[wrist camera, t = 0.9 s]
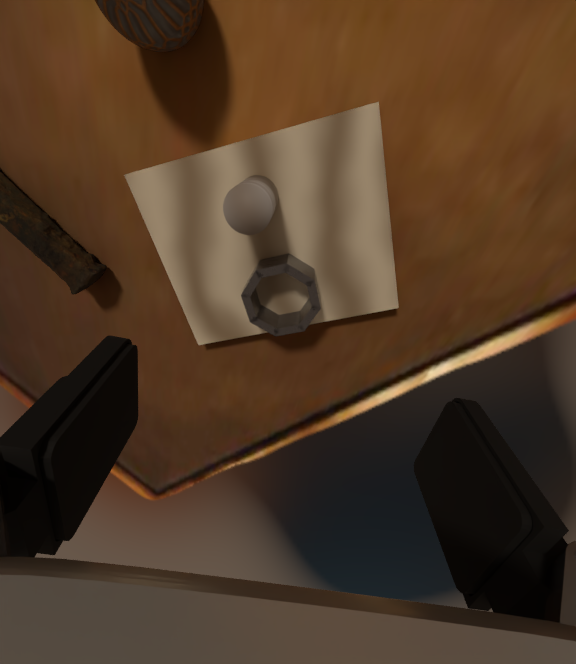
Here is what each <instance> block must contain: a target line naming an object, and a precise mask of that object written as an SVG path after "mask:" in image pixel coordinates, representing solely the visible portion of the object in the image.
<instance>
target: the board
mask: <svg viewBox="0 0 576 664" xmlns="http://www.w3.org/2000/svg"><path fill="white" fill-rule="evenodd" d="M125 178H126V180H127V182H128V185H129V187H130V189H131V191H132V194H133V196H134V198H135V201H136V203H137V205H138V207H139V210H140V212H141V214H142V217H143V219H144V221H145V224H146V226H147V228H148V230H149V233H150V235H151V237H152V240H153V242H154V244H155V246H156V249H157V251H158V253H159V256H160V258H161V260H162V262H163V265H164V267H165V269H166V272H167V274H168V276H169V278H170V281H171V283H172V285H173V288H174V290H175V292H176V295H177V297H178V299H179V301H180V304H181V306H182V308H183V311H184V313H185V315H186V317H187V320H188V322H189V324H190V327H191V329H192V331H193V333H194V336H195V338H196V340H197V343H198V345H202V344H207V343H213V342H218V341H224V340H229V339H234V338H240V337H245V336H251V335H256V334H261V333H267V331H265V330H263V329H261V328H259V327H258V326H256V325H254V324H252V323H250V321H249V318H248V315H247V312H246V309H245V306H244V303H243V300H242V298H241V294H242V292H243V289H244V287H245V285H246V283H247V281H248V279H249V278H250V276H251V274H252V272H253V271H254V269H255V267H256V266H257V264H258V262H259V260H261V259H265V258H270V257H274V256H279V255H283V254H288V253H289V254H291V255H293V256H294V257H296V258H298V259H299V260H301V261H302V262H304V263H306V264H307V265H309V266H311V267H312V268H314V269H315V274H316V279H317V283H318V288H319V292H320V301H321V309H320V311H319V312H318V313H317V315H316V316H315V317H314V319H313V320H312V321H311V323H310V324H315V323H321V322H326V321H332V320H337V319H342V318H348V317H353V316H358V315H364V314H369V313H375V312H380V311H385V310H391V309H396V308H399V307H398V297H397V286H396V276H395V266H394V255H393V245H392V235H391V224H390V214H389V204H388V193H387V183H386V173H385V162H384V152H383V142H382V131H381V121H380V111H379V102H376V103H373V104H369V105H366V106H362V107H359V108H355V109H352V110H348V111H345V112H341V113H338V114H334V115H331V116H327V117H324V118H321V119H317V120H314V121H310V122H307V123H303V124H300V125H296V126H293V127H289V128H286V129H282V130H279V131H275V132H272V133H268V134H265V135H261V136H258V137H254V138H251V139H247V140H244V141H241V142H237V143H234V144H230V145H227V146H223V147H220V148H216V149H213V150H209V151H206V152H202V153H199V154H195V155H192V156H188V157H185V158H181V159H178V160H174V161H171V162H168V163H164V164H161V165H157V166H154V167H150V168H147V169H143V170H140V171H136V172H133V173H129V174H126V175H125ZM256 291H257V294H258V297H259V300H260V304H261V305H263V306H264V307H266V308H268V309H270V310H272V311H273V312H275V313H277V314H279V315H281V314H286V313H291V312H297V311H300V310H301V309H302V307H303V306H304V304H305V303H306V302H307V300H308V299H309V293H308V289H307V285H305V284H304V283H302V282H300V281H299V280H297V279H295V278H294V277H292V276H290V275H289V274H287V273H282V274H277V275H273V276H268V277H263V278H261V280H260V281H259V283H258V285H257V286H256ZM310 324H309V325H310Z"/></svg>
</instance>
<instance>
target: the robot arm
mask: <svg viewBox="0 0 576 664" xmlns="http://www.w3.org/2000/svg"><path fill="white" fill-rule="evenodd" d="M137 420H138V350H137V346H136V345H132V342H131V340H130V339H126V338H121V337H115V336H107V337H106V338H105V339H104V340H103V341H102V342H101V343H100V344H99V345H98V346H97V347H96V348H95V349H94V350H93V351H92V352H91V353H90V354H89V355H88V356H87V357H86V358H85V359H84V360H83V361H82V362H81V363H80V364H79V365H78V366H77V367H76V368H75V369H74V370H73V371H72V372H71V373H70V374H69V375H68V376H65V377H62V378H60V379H59V380H58V381H57V382H56V383H55V384H54V385H53V386H52V387H51V388H50V389H49V390H48V391H47V392H46V393H45V394H44V395H43V396H42V397H41V398H40V399H39V400H38V401H37V402H36V403H35V404H34V405H33V406H31V407H30V408H29V409H28V411H26V413H24V415H23V416H21V417H20V418H19V419H18V420H17V421H16V422H15V423H14V424H13V425H12V426H11V427H10V428H9V429H8V430H7V431H6V432H5V433H4V434H3V435H2V436H1V437H0V664H576V541H573V542H571V543H569V544H567V543H566V542H565V540H564V539H563V536H564V535H565V534H566V533H567V532H568V531H569V530H568V529H567V528H566V526H565V525H564V523H563V522H562V521H561V519H560V518H559V516H558V515H557V514H556V512H555V511H554V509H553V508H552V506H551V505H550V504H549V502H548V501H547V499H546V498H545V497H544V495H543V494H542V492H541V491H540V490H539V488H538V487H537V485H536V484H535V482H534V481H533V480H532V478H531V477H530V475H529V474H528V473H527V471H526V470H525V468H524V467H523V465H522V464H521V463H520V461H519V460H518V458H517V457H516V456H515V454H514V453H513V451H512V450H511V449H510V447H509V446H508V444H507V443H506V442H505V440H504V439H503V437H502V436H501V435H500V433H499V432H498V430H497V429H496V427H495V426H494V425H493V423H492V422H491V420H490V419H489V418H488V416H487V415H486V413H485V412H484V410H483V409H482V408H481V406H480V405H479V404H478V403H477V402H476V401H472V400H466V399H460V398H455V399H454V400H453V401H452V402H448V403H447V404H446V405H445V407H444V409H443V411H442V413H441V415H440V417H439V418H438V420H437V422H436V424H435V425H434V427H433V429H432V431H431V433H430V434H429V436H428V438H427V440H426V442H425V444H424V446H423V447H422V449H421V451H420V453H419V455H418V456H417V458H416V460H415V463H414V472H415V475H416V478H417V481H418V483H419V486H420V489H421V492H422V495H423V497H424V500H425V503H426V506H427V508H428V511H429V514H430V517H431V519H432V522H433V525H434V528H435V530H436V533H437V536H438V538H439V541H440V544H441V547H442V550H443V552H444V555H445V558H446V561H447V563H448V566H449V569H450V572H451V575H452V577H453V580H454V582H455V585H456V587H457V589H458V590H459V591H460V592H461V593H463V595H464V598H465V601H466V604H467V606H468V608H470V609H465V608H457V607H450V606H442V605H435V604H427V603H419V602H412V601H405V600H397V599H390V598H383V597H375V596H366V595H358V594H352V593H344V592H336V591H328V590H321V589H312V588H305V587H297V586H289V585H281V584H273V583H266V582H258V581H250V580H242V579H233V578H225V577H217V576H209V575H200V574H193V573H184V572H176V571H168V570H160V569H151V568H144V567H135V566H134V567H133V566H124V565H115V564H106V563H95V562H87V561H77V560H67V559H54V558H35V555H36V554H37V553H41V554H49V555H55V554H56V552H57V550H58V548H59V547H60V545H61V543H62V542H63V540H64V541H69V540H70V539H71V538H72V537H73V536H74V534H75V532H76V531H77V529H78V527H79V525H80V524H81V522H82V520H83V518H84V517H85V515H86V513H87V511H88V510H89V508H90V506H91V504H92V502H93V501H94V499H95V497H96V495H97V494H98V492H99V490H100V488H101V487H102V485H103V483H104V481H105V479H106V478H107V476H108V474H109V473H110V471H111V469H112V467H113V466H114V464H115V462H116V460H117V458H118V457H119V455H120V453H121V451H122V450H123V448H124V446H125V444H126V443H127V441H128V439H129V437H130V436H131V434H132V432H133V430H134V428H135V426H136V424H137ZM491 608H492V610H493V612H487V611H489V609H491ZM472 609H478V610H472ZM480 610H486V611H480Z"/></svg>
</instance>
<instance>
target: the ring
mask: <svg viewBox="0 0 576 664" xmlns="http://www.w3.org/2000/svg"><path fill="white" fill-rule="evenodd" d="M282 273H287V274H289V275H290V276H292V277H294V278H295V279H297V280H299V281H300V282H302V283H304V284H305V285H307V289H308V293H309V299H308V300H307V302H306V303H305V304H304V306H303V307H302V309H301V310H300V311H297V312H291V313H286V314H281V315H279V314H277V313H275V312H273V311H272V310H270V309H268V308H266V307H264V306H263V305H261V304H260V300H259V297H258V294H257V291H256V286H257V285H258V283H259V281H260V280H261V278H263V277H268V276H273V275H277V274H282ZM241 298H242V300H243V303H244V306H245V309H246V312H247V315H248V318H249V321H250V323H252V324H254V325H256V326H258V327H259V328H261V329H263V330H265V331H267V332H269V333H270V334H272V335H274V336H280V335H286V334H291V333H297V332H302V331H305V329H306V328H307V327H308V325H309V324H310V323H311V321H312V320H313V319H314V317H315V316H316V315H317V313H318V312H319V311H320V309H321V301H320V292H319V288H318V283H317V279H316V274H315V269H314V268H312V267H311V266H309V265H307V264H306V263H304V262H302V261H301V260H299V259H298V258H296V257H294V256H293V255H291V254H289V253H288V254H283V255H279V256H274V257H270V258H265V259H261V260H259V262H258V264H257V266H256V267H255V269H254V271H253V272H252V274H251V276H250V278H249V279H248V281H247V283H246V285H245V287H244V289H243V292H242V294H241Z"/></svg>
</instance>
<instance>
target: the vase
mask: <svg viewBox="0 0 576 664" xmlns="http://www.w3.org/2000/svg"><path fill="white" fill-rule="evenodd" d="M95 1H96V3H97V5H98V7H99V8H100V10H101V11H102V13H103V14H104V16H105V17H106V18H107V20H108V21H109V22H110V23H111V25H112V26H113V27H114V28H115V29H116V30H117V31H118V32H119V33H120V34H121V35H123V36H124V37H125V38H126V39H128V40H129V41H131V42H132V43H134V44H136V45H138V46H140V47H142V48H145V49H148V50H151V51H156V52H168V51H173V50H176V49H178V48H180V47H182V46H183V45H185V44H186V43H187V42H188V41H189V40H190V39H191V38H192V37H193V35H194V34H195V32H196V30H197V29H198V26H199V24H200V21H201V17H202V12H203V5H204V0H95Z"/></svg>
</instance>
